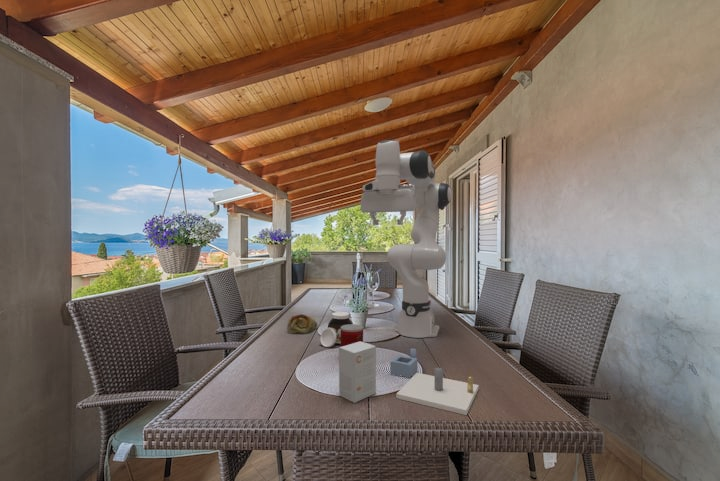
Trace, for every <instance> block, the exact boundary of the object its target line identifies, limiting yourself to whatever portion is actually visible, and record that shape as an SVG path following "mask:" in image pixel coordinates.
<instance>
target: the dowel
mask: <svg viewBox="0 0 720 481" xmlns="http://www.w3.org/2000/svg"><path fill="white" fill-rule="evenodd" d="M467 383H468V384H467V392H468V393H473V384H474V377H473V376H472V375H467Z"/></svg>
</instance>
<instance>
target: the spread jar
mask: <svg viewBox="0 0 720 481" xmlns="http://www.w3.org/2000/svg"><path fill="white" fill-rule="evenodd" d="M348 324H354V323H353V321H352V320H351V318H350V313H349V312H346V311H336V312H333V313H331V319H330V320H329V321H328V324H327V328H325V329H324V330H322V332H321V334H320V344H321V345H322V346H323V347H325V348H331V347H333V346H339V347H340V331H341V326H343V325H348Z"/></svg>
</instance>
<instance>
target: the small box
mask: <svg viewBox="0 0 720 481" xmlns="http://www.w3.org/2000/svg"><path fill="white" fill-rule="evenodd" d="M376 347H377V346H376V345H373V344H371V343H367V342H364V341H363V342H361V341H360V342H356V343H353V344H349V345H346V346H342V347H340V346H339V347H338V357H339V358H338V367H339V368H338V381H339V382H338V388H339V389H338V391H339V392H338V393H339V396H340V397H342V398H343V399H346V400H348V401H350V402H352V403H354V404H355V403H358V402H359V401H362V400H364V399H367V398H368V397H371V396H372V395H373V396H374V395H376V393H377V382H376V381H377V371H376V370H377V360H376V359H377V353H376V352H377V351H376V350H377V348H376Z"/></svg>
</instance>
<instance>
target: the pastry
mask: <svg viewBox="0 0 720 481" xmlns="http://www.w3.org/2000/svg"><path fill="white" fill-rule="evenodd" d="M318 329H319V328H318V323H317V321H316V320H315V318H313V317H312V316H309V315H306V314H296V315H293V316H291V317H290V318H289V320H288V323H287V327H286V330H287V333H288V334H291V335H305V334H307V335H308V334H309V333H312V332H314V331H315V330H318Z"/></svg>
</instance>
